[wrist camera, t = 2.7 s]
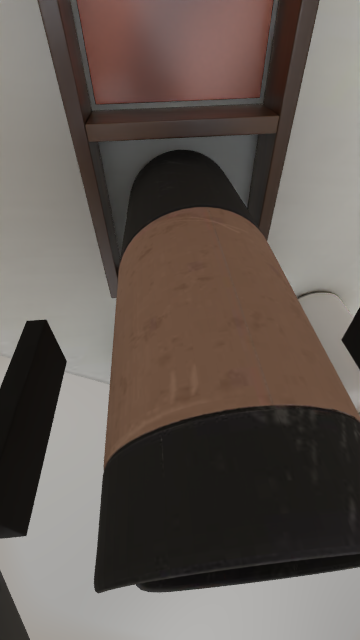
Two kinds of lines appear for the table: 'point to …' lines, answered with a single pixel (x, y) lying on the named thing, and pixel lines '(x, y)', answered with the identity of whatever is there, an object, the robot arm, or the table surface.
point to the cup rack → (178, 84)
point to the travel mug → (218, 403)
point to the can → (334, 337)
